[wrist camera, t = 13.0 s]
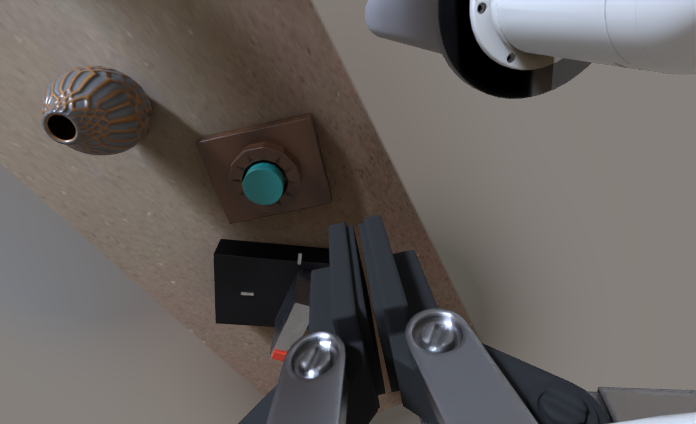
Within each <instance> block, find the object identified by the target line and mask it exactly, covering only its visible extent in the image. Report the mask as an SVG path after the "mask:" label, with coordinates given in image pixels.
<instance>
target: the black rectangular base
mask: <svg viewBox="0 0 696 424" xmlns="http://www.w3.org/2000/svg"><path fill="white" fill-rule="evenodd" d="M326 267H330V260H329V249H327V248H316V247H305V246H294V245H283V244H271V243H260V242H249V241H238V240H226V239H221V240H220V242H219V244H218V246H217V248H216V250H215V253H214V281H215V313H216V323H220V324H236V325H253V326H270V327H274V326H275V319H276V317H277V314H278V312H279V310H280V308H281V306H282V303H283V301H284V299H285V297H286V295H287V292H288V290H289V288H290V286H291V284H292V281H293V279H294V277H295V275H296V273H297V270H298V268H299V269H303V270H306V271H309V272H311V271H312V270H316V269H321V268H326ZM306 329H309V325H308V327H307V328H306Z"/></svg>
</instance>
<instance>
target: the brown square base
mask: <svg viewBox="0 0 696 424" xmlns="http://www.w3.org/2000/svg"><path fill="white" fill-rule="evenodd" d="M196 145H197V147H198V149H199V152H200V154H201V156H202V159H203V161H204V163H205V166H206V168H207V171H208V173H209V175H210V178H211V180H212V182H213V185H214V187H215V189H216V192H217V194H218V196H219V199H220V201H221V204H222V206H223V208H224V211H225V213H226V215H227V218H228V220H229V222H230V224H232V223H236V222H241V221H246V220H251V219H255V218H260V217H265V216H270V215H275V214H279V213H284V212H289V211H294V210H298V209H303V208H308V207H313V206H318V205H322V204H327V203H332V194H331V190H330V186H329V182H328V178H327V174H326V170H325V166H324V162H323V158H322V154H321V150H320V146H319V142H318V138H317V133H316V129H315V125H314V121H313V117H312V114H311V113H310V114H305V115H301V116H296V117H292V118H287V119H283V120H278V121H273V122H269V123H264V124H260V125H255V126H251V127H246V128H242V129H237V130H232V131H228V132H223V133H219V134H214V135H210V136H205V137H201V138H200V139H199V140H198V141H197V142H196ZM261 162H267V163H271V164H274V165H275V166H277V167H278V168H279V169H280V170H281V171H282V173H283V175H284V178H285V184H284V189H283V193H282V196H281V197H280V199H279V200H278V201H276V202H275V203H273V204H270V205H259V204H256V203H254V202H252V201H251V200H249V199H248V198H247V196H246V195H245V193H244V191H243V180H244V178H245V176H246V174H247V172H248V170H249V169H250V168H251V167H252V166H253V165H255V164H257V163H261Z"/></svg>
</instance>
